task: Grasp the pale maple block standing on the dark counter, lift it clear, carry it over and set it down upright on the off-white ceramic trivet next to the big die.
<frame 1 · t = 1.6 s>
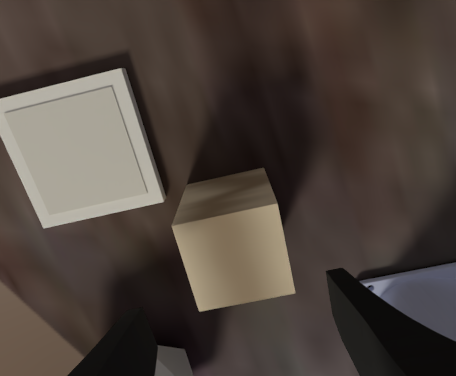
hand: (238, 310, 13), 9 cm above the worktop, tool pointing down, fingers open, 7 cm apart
maple block: (233, 211, 21), on the worktop
die: (150, 359, 26), on the worktop
trivet: (84, 151, 20), on the worktop
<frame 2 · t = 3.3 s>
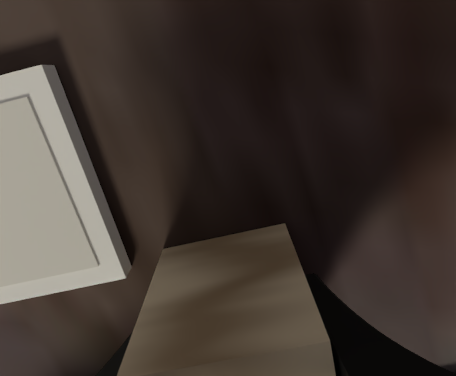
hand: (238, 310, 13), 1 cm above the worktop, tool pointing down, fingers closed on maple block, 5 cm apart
maple block: (236, 287, 14), on the worktop, touching gripper
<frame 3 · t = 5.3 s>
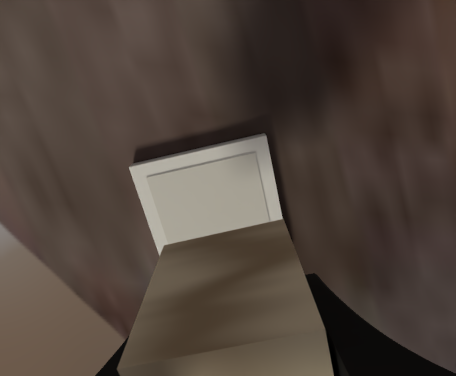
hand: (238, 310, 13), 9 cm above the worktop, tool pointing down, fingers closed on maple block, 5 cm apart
maple block: (237, 283, 14), point 7 cm above the worktop, touching gripper
trivet: (214, 209, 20), on the worktop
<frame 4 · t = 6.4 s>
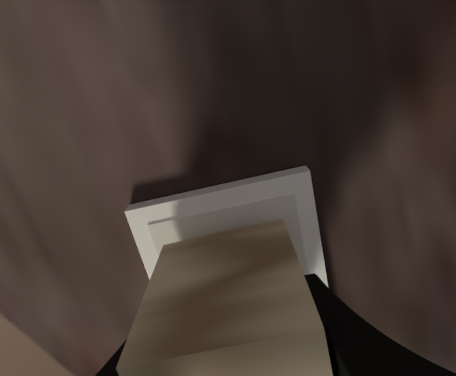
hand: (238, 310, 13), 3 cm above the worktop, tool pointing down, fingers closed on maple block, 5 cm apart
maple block: (236, 282, 14), point 2 cm above the worktop, touching gripper
trivet: (235, 261, 16), on the worktop
when the fingers open (3 cm above the worktop, at t = 7.3 s): maple block stays where it is, resting on trivet.
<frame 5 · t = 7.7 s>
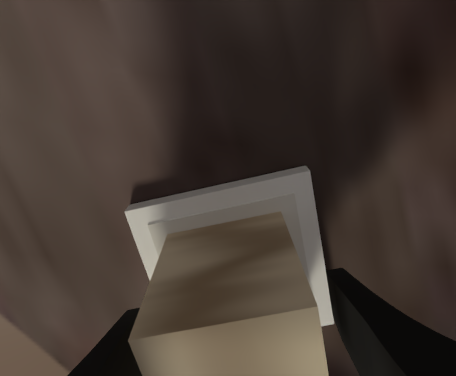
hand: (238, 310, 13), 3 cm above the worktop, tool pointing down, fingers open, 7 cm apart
maple block: (235, 271, 15), point 1 cm above the worktop, touching trivet
trivet: (235, 262, 16), on the worktop
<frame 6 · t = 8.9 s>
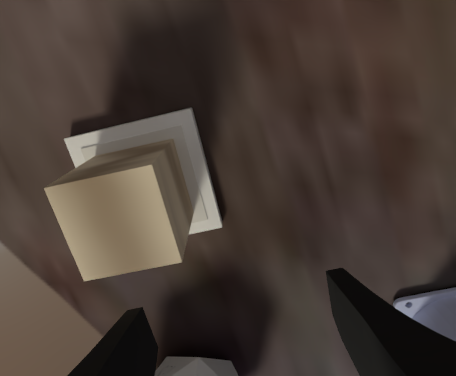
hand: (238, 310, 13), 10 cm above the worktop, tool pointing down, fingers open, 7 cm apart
maple block: (145, 184, 21), point 1 cm above the worktop, touching trivet
die: (198, 370, 28), on the worktop
trivet: (149, 181, 22), on the worktop
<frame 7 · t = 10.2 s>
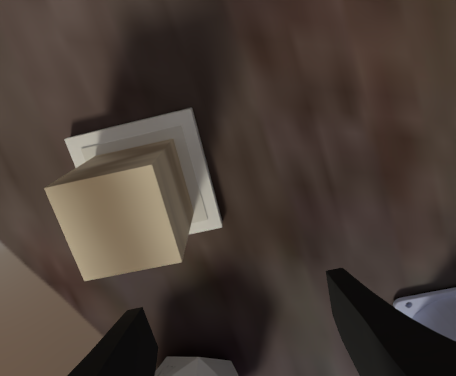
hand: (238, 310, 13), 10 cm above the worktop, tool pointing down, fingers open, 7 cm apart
maple block: (146, 184, 21), point 1 cm above the worktop, touching trivet
die: (198, 370, 28), on the worktop
trivet: (149, 181, 22), on the worktop
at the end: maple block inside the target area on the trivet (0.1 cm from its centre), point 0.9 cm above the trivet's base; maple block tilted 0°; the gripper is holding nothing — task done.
